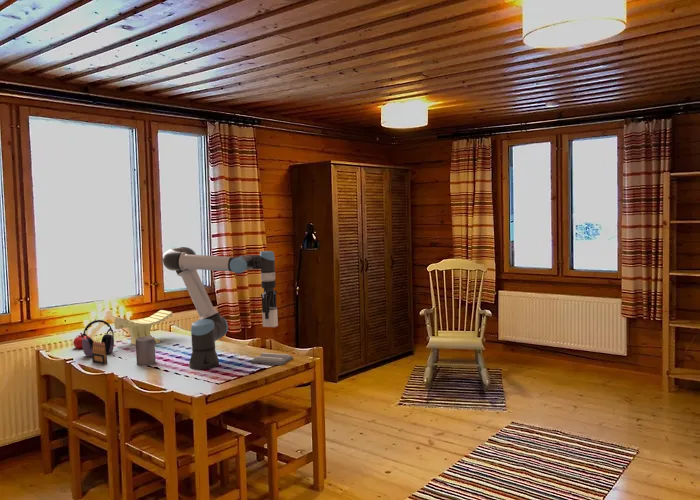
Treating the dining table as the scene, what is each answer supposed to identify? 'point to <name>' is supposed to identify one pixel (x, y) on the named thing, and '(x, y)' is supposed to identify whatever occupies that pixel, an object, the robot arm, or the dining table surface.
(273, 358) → the end holder
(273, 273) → the robot arm
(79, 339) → the pomegranate
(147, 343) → the pillar candle
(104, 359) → the ammunition clip
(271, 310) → the grey rectangular block
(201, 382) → the dining table surface
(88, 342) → the headphones
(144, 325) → the slatted curved stool
